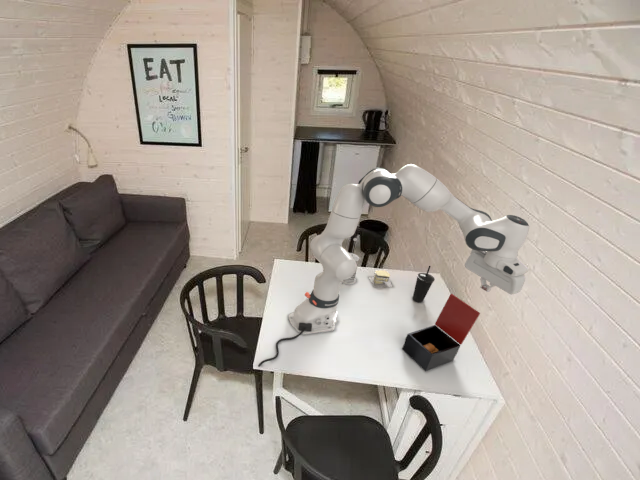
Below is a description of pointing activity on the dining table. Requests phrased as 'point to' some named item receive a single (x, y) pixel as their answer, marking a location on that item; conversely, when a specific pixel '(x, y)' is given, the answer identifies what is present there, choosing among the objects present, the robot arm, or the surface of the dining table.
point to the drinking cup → (422, 286)
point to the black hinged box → (436, 338)
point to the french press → (352, 278)
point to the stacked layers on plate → (381, 279)
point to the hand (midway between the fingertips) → (484, 289)
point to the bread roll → (431, 348)
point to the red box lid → (457, 318)
